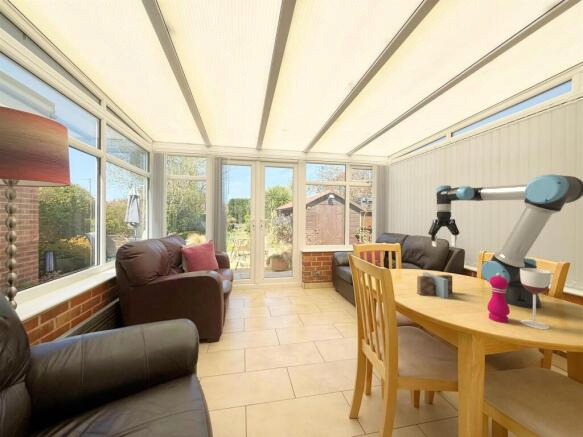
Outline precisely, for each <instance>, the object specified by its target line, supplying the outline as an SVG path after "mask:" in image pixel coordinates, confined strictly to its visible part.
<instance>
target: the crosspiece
mask: <svg viewBox="0 0 583 437" xmlns="http://www.w3.org/2000/svg"><path fill="white" fill-rule="evenodd" d="M422 276H432V277H433V285H436V294H435V296H437V297H440V298H441V299H448V298H449V294H448V279H445V278H442V277H439V276H437V275H436V274H432V273H430V272H427V271H425V272H422Z"/></svg>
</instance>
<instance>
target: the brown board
mask: <svg viewBox="0 0 583 437" xmlns="http://www.w3.org/2000/svg"><path fill="white" fill-rule="evenodd" d="M436 276H439V277H442V278H445V279H448V295H449V294H453V275H451V274H437V275H436ZM416 277H417V278H416V280H417V281H416V284H417V286H416V288H417V289H416V294H417V295H419V296H429V295H431V296H432V295H433V296H434V295H436V285H433V277H432V276H423V275H417V276H416Z"/></svg>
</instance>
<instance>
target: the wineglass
mask: <svg viewBox="0 0 583 437" xmlns="http://www.w3.org/2000/svg"><path fill="white" fill-rule="evenodd" d="M520 278H521V283H522V285H523V287H524V288H525V289H526V290H528V291H530V292H531V293H533V308H532V319H531V320H530V319H521V320H519V322H520V323H521V324H523V325H525V326H527V327H530V328H535V329H541V330H549V329H550V326H549V325H546V324H544V323H543V322H539V321H536V320H537V314H536V313H537V308H536V294H538V295H539V294H541V293H546V291H547V290H548V289H549V287H550V284H551V278H552V272H551V271H550V270H547V269H541V268H537V269H535V268H520Z"/></svg>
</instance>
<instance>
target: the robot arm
mask: <svg viewBox="0 0 583 437" xmlns="http://www.w3.org/2000/svg"><path fill="white" fill-rule="evenodd" d="M435 195H436V211H437V212H436V218H434V219H432V223H431V226H430V228H429V230H428V231H427V232H428V235H429V236H430V237H431V242H432V243H431V246H432V247H435V248H436V247H438V245H437V244H438V243H437V242H438V241H437V240H438V236H437V234H438V232H439V231H440V229H441V228H444V227H446V228H447V230H449V232H450V233H451V235H450V245H451V246H453V247H456V246H457V236H458V235H459V234H460V231H459V228H458V226H457V224H456V219H455V218H452V202H455V201H470V202H471V201H475V202H481V201H482V202H483V201H523V200H524V201H523V203H524V205H525V208H524V209H523V211H522V213H521V214H520V216H519V219H518V220H517V222H516V223H515V225H514V227H513V228H512V230H511V232H510V233H509V236H508V237H507V238H506V241H505V242H504V245H503V246H502V248H501V249H500V251H496V252H494V253H493V256H492V257H491V258H490V260H487V261H484V262H483V264H482V265H481V267H480V268H481V269H480V270H481V274H482V277H483V278H484V280H486V281H487V282H488V283H490V282H489V281H490V278H491V277H493V276H496V273H501V277H504V278H505V279H506V280H507V281H508V286H507V287H506V288H505V289H506V293H505V300H506V302H507V304H508V305H509V304H510V305H512V306H517V307H521V308H528V309H533V293H531V292H530V291H528V290H526V289H525V288H524V287H523V285H522V283H521V278H520V268H535V269H538V266H537V261H536V260H535V259H534V258H528V257H526V256H527V255H528V254H529V251H530V250H531V248H532V247H533V245H534V244H535V242H536V241H537V239H538V237H539V235H540V234H541V233H542V232H543V229H544V228H545V227H546V225H547V223H548V222H549V220H550V218H551V217H552V215H553V214H557V213H560V212H561V211H562V209H563V207H564V206H565V204H569V203H575V201H578V200H580V199H581V198H582V197H583V180H581V179H580V178H578V177H575V176H570V175H563V174H562V175H561V174H560V175H559V174H545V175H544V174H542V175H540V176H537V177H534V178H533V179H532V180H530V181H529V182H528V183H527V184H512V185H501V186H500V185H499V186H485V187H472V186H469V185H467V186H465V185H463V186H459V187H452V186H451V185H449V184H448V185H447V184H446V185H445V184H444V185H438V186H437V187H436V193H435ZM541 307H542V300H541V299H540V296H539V294H536V309H538V308H541Z"/></svg>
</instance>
